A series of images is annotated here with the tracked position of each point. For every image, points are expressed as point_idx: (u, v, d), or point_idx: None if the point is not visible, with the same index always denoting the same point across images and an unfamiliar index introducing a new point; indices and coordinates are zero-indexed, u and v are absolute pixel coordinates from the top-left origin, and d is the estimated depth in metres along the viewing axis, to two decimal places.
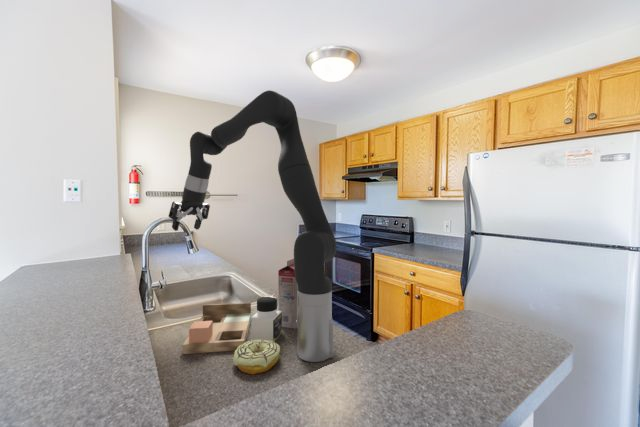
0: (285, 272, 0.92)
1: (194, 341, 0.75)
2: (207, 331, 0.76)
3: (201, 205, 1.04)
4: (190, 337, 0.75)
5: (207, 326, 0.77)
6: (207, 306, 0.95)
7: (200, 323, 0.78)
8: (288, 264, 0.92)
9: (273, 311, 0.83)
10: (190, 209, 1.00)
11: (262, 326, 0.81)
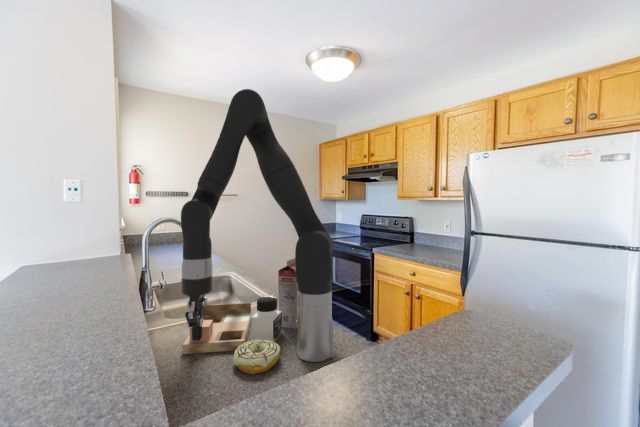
0: (285, 272, 0.92)
1: None
2: (208, 330, 0.77)
3: (204, 294, 0.78)
4: (191, 336, 0.76)
5: (207, 325, 0.77)
6: (207, 306, 0.95)
7: None
8: (288, 264, 0.92)
9: (273, 311, 0.83)
10: (203, 304, 0.73)
11: (262, 326, 0.81)
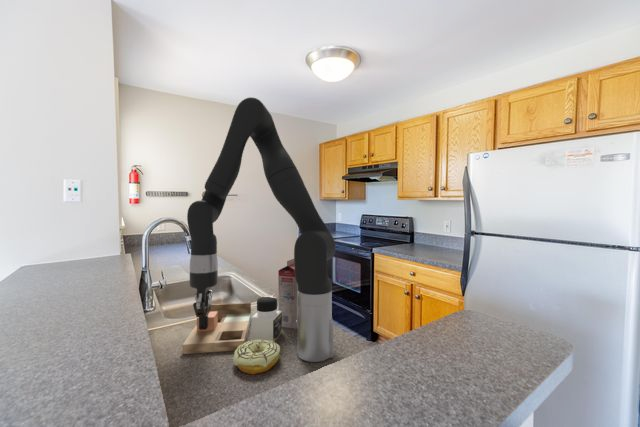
0: (285, 272, 0.92)
1: None
2: (213, 320, 0.83)
3: (210, 287, 0.85)
4: (198, 326, 0.83)
5: (213, 316, 0.84)
6: None
7: None
8: (288, 264, 0.92)
9: (273, 311, 0.83)
10: (209, 296, 0.80)
11: (262, 326, 0.81)
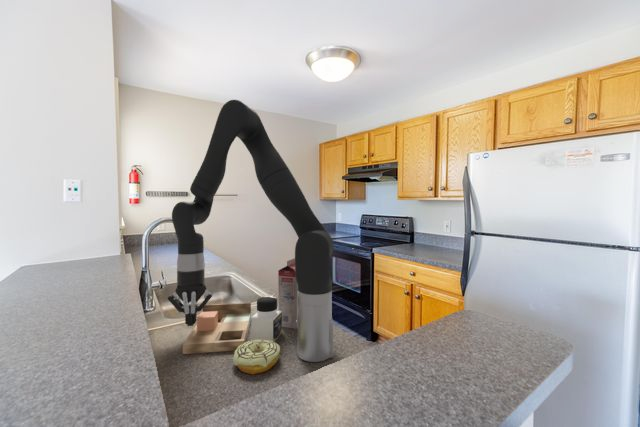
0: (285, 272, 0.92)
1: (201, 329, 0.83)
2: (213, 320, 0.84)
3: (202, 289, 0.84)
4: (198, 325, 0.83)
5: (213, 316, 0.84)
6: (207, 306, 0.95)
7: (207, 313, 0.86)
8: (288, 264, 0.92)
9: (273, 311, 0.83)
10: (184, 294, 0.82)
11: (262, 326, 0.81)
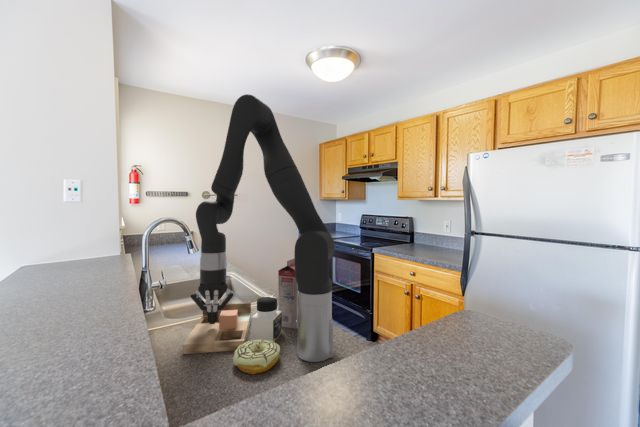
0: (285, 272, 0.92)
1: (224, 327, 0.84)
2: (235, 318, 0.85)
3: (224, 288, 0.85)
4: (220, 324, 0.84)
5: (235, 314, 0.86)
6: None
7: (228, 312, 0.87)
8: (288, 264, 0.92)
9: (273, 311, 0.83)
10: (206, 293, 0.83)
11: (262, 326, 0.81)
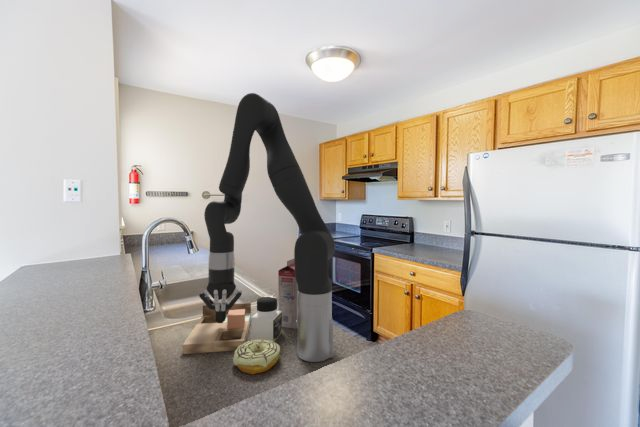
0: (285, 272, 0.92)
1: (232, 327, 0.85)
2: (243, 318, 0.86)
3: (232, 287, 0.85)
4: (228, 323, 0.85)
5: (243, 313, 0.86)
6: (207, 306, 0.95)
7: (235, 311, 0.88)
8: (288, 264, 0.92)
9: (273, 311, 0.83)
10: (215, 292, 0.83)
11: (262, 326, 0.81)
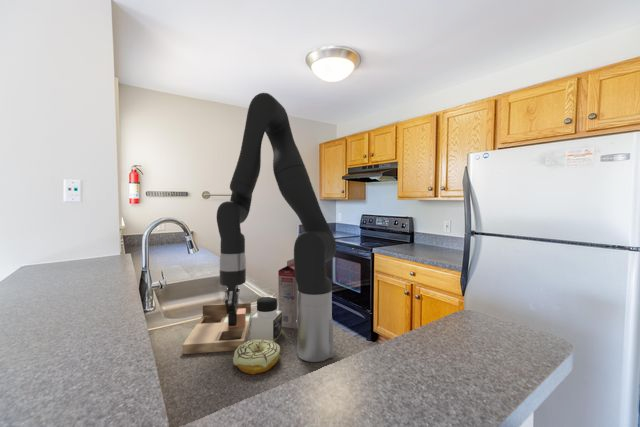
0: (285, 272, 0.92)
1: None
2: (244, 317, 0.86)
3: (237, 285, 0.87)
4: None
5: (243, 312, 0.87)
6: (207, 306, 0.95)
7: None
8: (288, 264, 0.92)
9: (273, 311, 0.83)
10: (238, 293, 0.83)
11: (262, 326, 0.81)
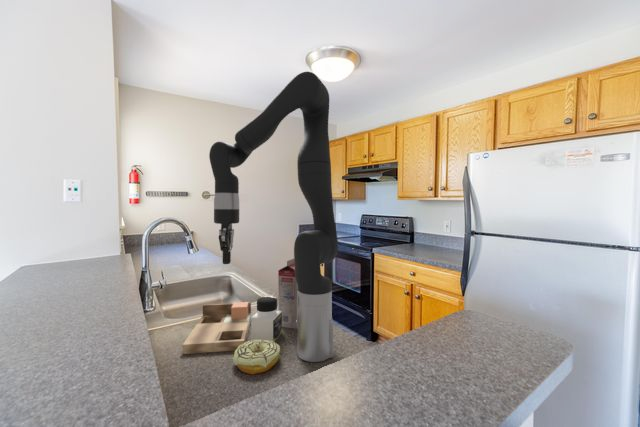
0: (285, 272, 0.92)
1: (235, 318, 0.92)
2: (246, 309, 0.93)
3: None
4: (232, 314, 0.92)
5: (245, 306, 0.93)
6: (207, 306, 0.95)
7: (239, 304, 0.95)
8: (288, 264, 0.92)
9: (273, 311, 0.83)
10: (232, 232, 0.86)
11: (262, 326, 0.81)
